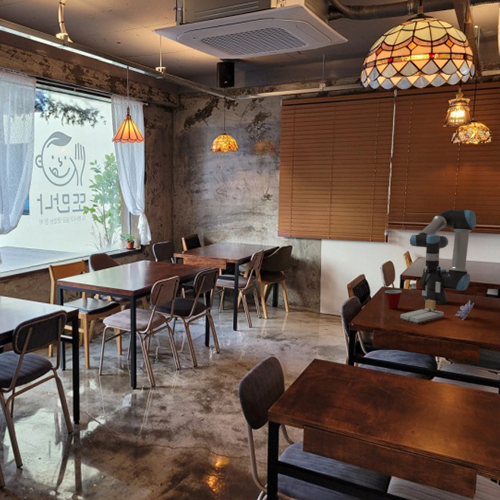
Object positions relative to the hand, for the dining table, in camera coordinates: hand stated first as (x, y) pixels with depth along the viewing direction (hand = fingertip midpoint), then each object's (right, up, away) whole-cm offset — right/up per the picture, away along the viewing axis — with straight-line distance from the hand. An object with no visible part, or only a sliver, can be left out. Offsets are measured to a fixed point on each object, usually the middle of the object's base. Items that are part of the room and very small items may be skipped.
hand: (431, 293), depth 281 cm
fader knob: (0, -13, +1) cm, 13 cm away
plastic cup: (-17, -12, +21) cm, 30 cm away
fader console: (-7, -15, -3) cm, 16 cm away
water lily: (+20, -15, -1) cm, 25 cm away
